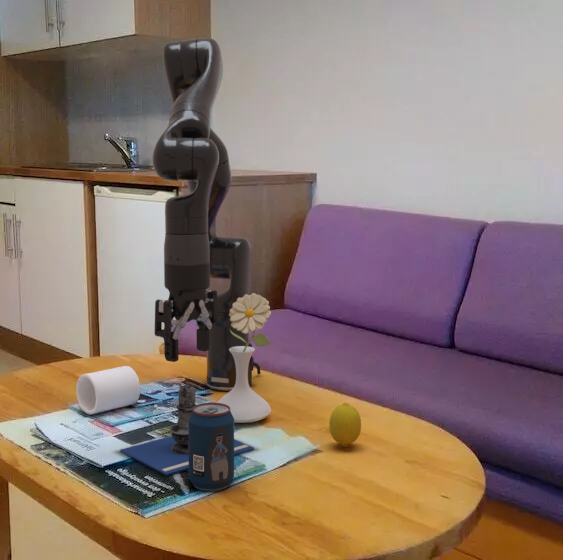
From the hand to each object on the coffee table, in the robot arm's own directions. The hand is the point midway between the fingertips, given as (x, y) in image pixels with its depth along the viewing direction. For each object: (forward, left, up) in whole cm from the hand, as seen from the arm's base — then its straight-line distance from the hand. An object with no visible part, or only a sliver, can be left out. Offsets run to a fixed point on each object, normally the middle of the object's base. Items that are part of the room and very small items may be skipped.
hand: (187, 355), depth 130 cm
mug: (+3, -31, -17) cm, 35 cm away
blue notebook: (0, 0, -17) cm, 17 cm away
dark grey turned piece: (0, 0, -17) cm, 17 cm away
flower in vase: (-17, -9, -17) cm, 26 cm away
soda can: (+3, +14, -17) cm, 22 cm away
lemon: (-24, +13, -17) cm, 32 cm away
